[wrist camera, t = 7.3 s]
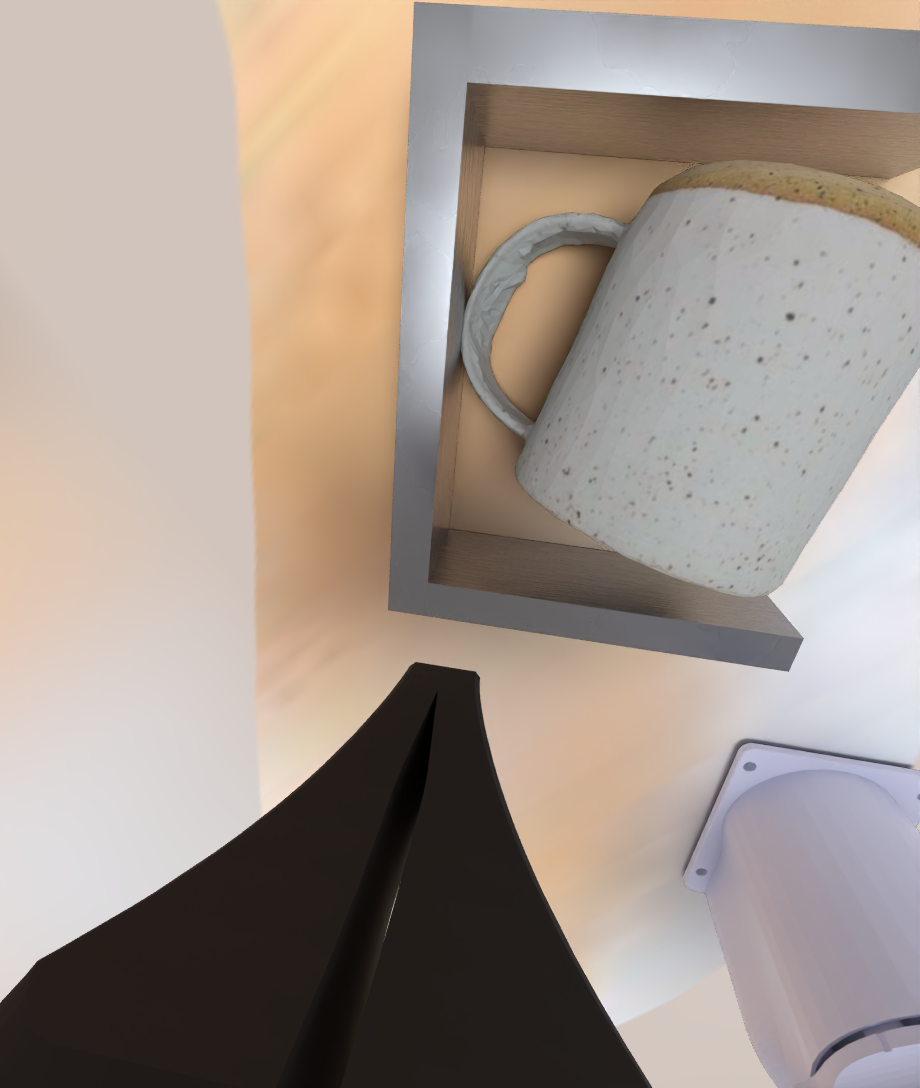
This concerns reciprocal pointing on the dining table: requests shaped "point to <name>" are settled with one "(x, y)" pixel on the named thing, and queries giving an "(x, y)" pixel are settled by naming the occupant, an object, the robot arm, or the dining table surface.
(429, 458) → the grey u-shaped piece
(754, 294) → the ceramic mug
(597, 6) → the dining table surface
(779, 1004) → the robot arm
